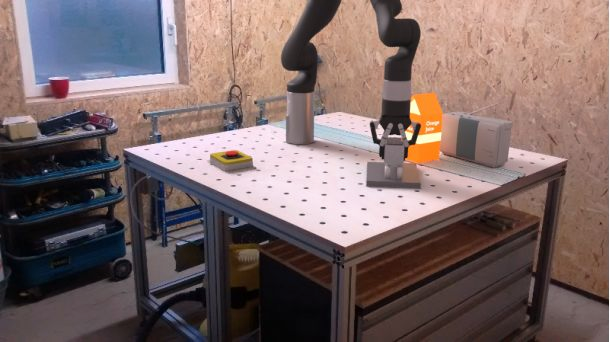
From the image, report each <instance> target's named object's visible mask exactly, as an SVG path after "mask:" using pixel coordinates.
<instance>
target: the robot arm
mask: <svg viewBox="0 0 610 342" xmlns="http://www.w3.org/2000/svg"><path fill="white" fill-rule="evenodd" d="M369 1H370V5H371V6H372V8H373V10H374V14H375V16H376V17H375V18H376V24H377V32H378V33H377V34H378V37H379V40H380V42H381V43H382V44H383V45H384V46H385V47H388V48H398V49H397V52H396V53H395V54H394V55H392V56H391V55H390V56H388V57H387V58H386V59H385V60H384V68H383V84H382V92H381V116H380V117H379V119H378V120H370V121H369V128H370V133H371V138H372V141H373V144H376V145H378V147H379V151H378V154H379V155H378V156H379V158H381V160H384V150H385V145H384V144H385V142H386V140H387V138H388V137H390V136H395V135H396V136H401V137H400V138H402V140H403V143H404V161H406V159H405V158H407V157H408V148H409V146H411V145H415V144H416V141H417V138H418V135H419V132H420V128H421V124H420V122H413V121H411V119H410V106H411V98H412V72H413V71H412V69H413V68H412V67H413V62H414V60H415V56H416V54H417V50H418V48H419V44H420V41H421V33H422V32H421V26H420V24H419V23H418V21H417V20H416V19H414V18H405V17H404V18H396V17H398V16H399V14H401V12H402V10H403V4H402V1H401V0H369ZM342 2H343V1H342V0H307V2H306V4H305V7H304V8H303V11H302V13H301V15H300V18H299V20H298V21H297V23H296V25H295V27H294V29H293V30H292V32H291V34H290V35H289V37H288V39H287V40H286V42H285V43H284V45H283V48H282V51H281V56H280V62H281V65H282V68H283V69H285V70H286V71H289V72H297V75H296V76H295V77H294V78H293V79H291V80H289V81H287V84H286V114H285V143H287V144H292V145H293V144H294V145H309V144H312V143H314V142H315V87H316V84H317V78H318V65H319V64H318V63H319V58H318V57H319V55H318V49H317V47H316V45H315V44H314V43H313V42H311V41H312V39H313V38H314V37H315V36H316V35H317V34H319V33H320V32H322V30H323V29H325V28H326V27H327V26H328V25H330V23H331V22H332V20H333V19H334V17H335V15H336V14H337V12H338V10H339V8H340V6H341V3H342ZM379 125H380V126H381V128H382V129H383V132H382V136H381V138H378V134H377V130H378V128H379ZM410 125H412V129H413V130H414V131H413V135H412V138H411V140H407V137H406V133H405V131H406V130H407V129H408V128H409V126H410Z"/></svg>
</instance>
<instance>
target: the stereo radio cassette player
mask: <svg viewBox="0 0 610 342" xmlns="http://www.w3.org/2000/svg"><path fill="white" fill-rule="evenodd" d="M510 100H512V98H511V97H509V98H507V99H505V100H502V101H499V102H496V103H493V104H490V105H488V106H485V107H482V108H480V109H477V110H475V111H472V112H470V113H469V112H464V111H453V112H452V111H451V112H447V113H446V112H445V113H443V115H442V128H441V141H440V152H441V154H443V155H446V156H450V157H453V158H459V159H462V160H466V161H470V162H473V163H476V164H480V165H484V166H488V167H491V168H493V169H495V168H497V167H500V166H502V165H505V164H506V163H507V162H508V160H509V153H510V143H511V138H512V137H511V136H512V135H511V134H512V128H513V126H514V124H513V121H512V120H511V121H510V120H505V119H500V118H496V117H495V118H494V117H489V116H486V115H485V116H484V115H479V114H476V113H479V112H481V111H484V110H486V109H488V108H489V109H490V108H492V107H494V106H497V105H499V104H501V103H504V102H506V101H510Z"/></svg>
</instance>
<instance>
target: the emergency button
mask: <svg viewBox="0 0 610 342" xmlns="http://www.w3.org/2000/svg"><path fill="white" fill-rule="evenodd" d="M206 161H207V163H209V164H210V165H213V166H214V167H215V168H218V170H219V169H220V170H221V171H223V172H224V173H227V174H233V173H237V172H244V171H249V170H254V169H256V166H254V161H253V157H252V156H250V155H248V154H245V153H244V152H242V151H239V150H238V149H237V150H236V149H231V150H224V151H219V152H212V153H209V159H208V160H206Z"/></svg>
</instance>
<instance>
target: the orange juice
mask: <svg viewBox="0 0 610 342" xmlns="http://www.w3.org/2000/svg"><path fill="white" fill-rule="evenodd" d="M443 114H444V112H443V110H442V108H441V105H440V102H439V100H438V97H437V94H436V92H428V93H417V94H413V95H411V106H410V119H411V121H413V122H420V124H421V128H420V132H419V135H418V138H417V141H416V144H415V145H411V146H409V148H408V157H407V158H405V160H406V159H407V161H409V162H411V163H416V164H417V163H418V164H422V163H421V162H423V163H426V162H427V161H428V162H432V161H431V160H434V161H438V160H437V159H439V160H440V141H441V128H442V115H443ZM413 131H414V130H413V129H412V125H410V126H409V128H408V129H407V130H406V131H405V133H406V137H407V140H411V138H412V135H413Z"/></svg>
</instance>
